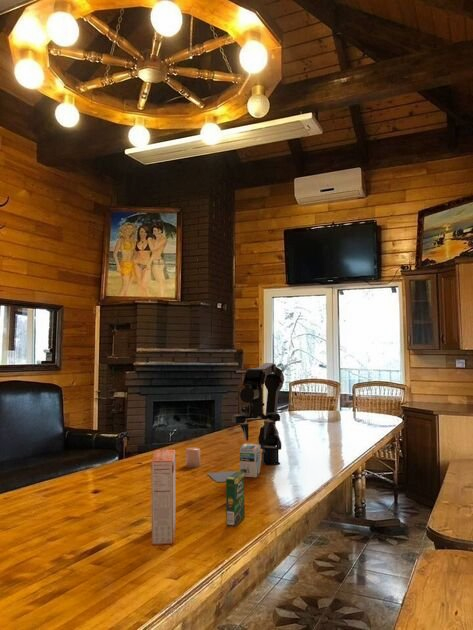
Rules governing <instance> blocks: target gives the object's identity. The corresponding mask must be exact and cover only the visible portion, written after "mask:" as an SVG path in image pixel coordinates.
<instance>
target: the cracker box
mask: <svg viewBox="0 0 473 630" xmlns="http://www.w3.org/2000/svg"><path fill="white" fill-rule="evenodd" d="M150 480H151V481H150V483H151V484H150V486H151V487H150V488H151V489H150V490H151V492H150V493H151V495H150V496H151V497H150V503H151V504H150V505H151V507H150V508H151V509H150V510H151V512H150V514H151V515H150V516H151V545H152V546H158V545H159V546H161V545H174V544H175V535H176V534H175V533H176V519H177V517H176V514H177V513H176V512H177V511H176V509H177V507H176V450H175V449H156V450H154V453H153V456H152V459H151V462H150Z"/></svg>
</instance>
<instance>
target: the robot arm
mask: <svg viewBox="0 0 473 630" xmlns="http://www.w3.org/2000/svg"><path fill="white" fill-rule="evenodd" d="M284 382H285V376H284V373H283V371H282V370H281V369H280V368H279V367H278V366H277V365H276V363H274V362H265V363H263V364H262V365H260V366H258V367H255V368H254V367H253V368H252V367H250V368H247V369H246V371H245V373H244V377H243V381H242V386H243V387H244V388H242V389H241V390H240V392H239V397H240V399H241V401H242V402H244V403H246V405H245V404H241V405H239V413H238V414H232V416H231V422H232V423H234V424H237V425H239V426H240V427H241V430H242V432H243V435H244V439H245V440H246V442H248V441H249V423H247V422H250V421H263V426H261V427H260V428H259V434H258V436H257V437H258V438H257V440H258V441H257V442H258V445H261V449H262V450H261V451H260V463H262V464H264V465H266V466H272V465H273V466H274V465H281V462H280V461H279V451H280V450H282V441H281V438H280V435H279V431H278V428H277V427H276V424H277V422H280V421H281V415H280V413H277V411H278V410H277V409H278V398H279V392H280V391H281V390H282V388H283V384H284ZM264 386H265V389H266V390H267V396H266V397H267V398H266V403H264ZM265 404H266V405H265ZM264 407H265V413H264Z"/></svg>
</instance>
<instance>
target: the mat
mask: <svg viewBox="0 0 473 630" xmlns="http://www.w3.org/2000/svg"><path fill="white" fill-rule="evenodd" d="M235 472H236V471H235V470H229V471H218V472H211V473H210V472H208V473H206V475H207V476H208V477H210V478H211V479H212V480H213V481H214V482H216V483H217V484H218V483H226V479H227V478H228V477H230V476H231V475H233V474H234V473H235ZM245 480H246V478H244V481H245Z"/></svg>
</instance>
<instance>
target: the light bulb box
mask: <svg viewBox="0 0 473 630" xmlns="http://www.w3.org/2000/svg"><path fill="white" fill-rule="evenodd" d="M261 451H262V450H261V445H259V443H256V444H255V443H243V444H242V445H241V446H240V448H239V472H243V473H244V478H257V477H258V475H259V474H260V472H261Z"/></svg>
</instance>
